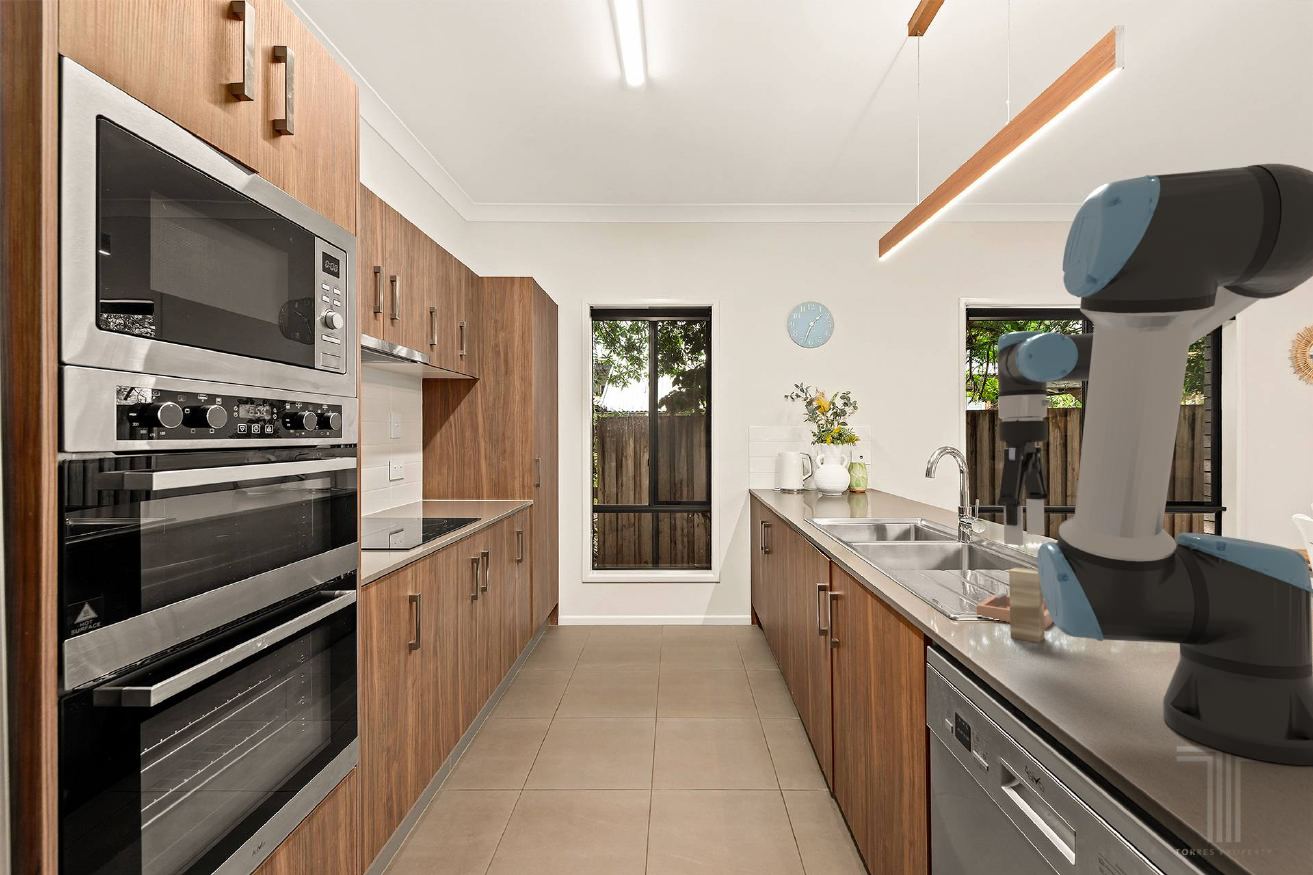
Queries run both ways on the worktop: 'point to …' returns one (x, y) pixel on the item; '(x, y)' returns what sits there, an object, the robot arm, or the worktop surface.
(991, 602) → the candle dish
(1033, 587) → the tan wooden block
